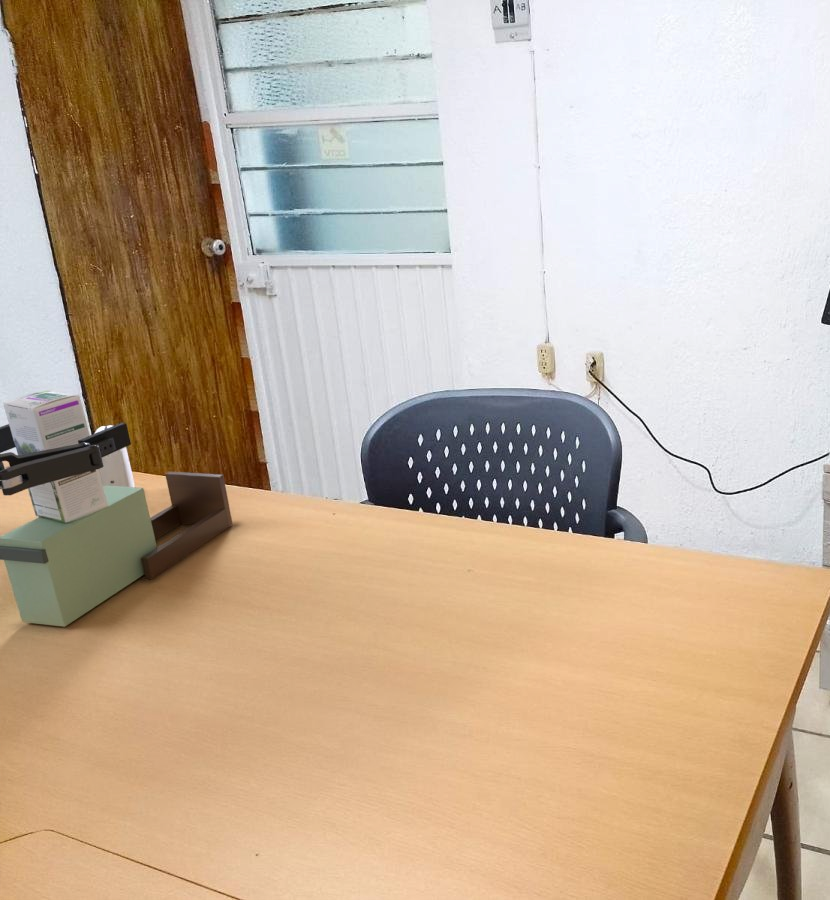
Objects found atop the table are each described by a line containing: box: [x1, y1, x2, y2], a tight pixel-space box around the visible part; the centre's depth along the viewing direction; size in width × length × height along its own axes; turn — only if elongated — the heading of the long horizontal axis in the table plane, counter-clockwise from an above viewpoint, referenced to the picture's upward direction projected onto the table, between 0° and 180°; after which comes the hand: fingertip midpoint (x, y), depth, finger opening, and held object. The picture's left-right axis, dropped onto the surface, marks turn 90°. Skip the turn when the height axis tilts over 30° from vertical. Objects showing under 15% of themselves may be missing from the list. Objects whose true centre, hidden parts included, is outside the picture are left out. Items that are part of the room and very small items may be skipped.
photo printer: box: [93, 424, 136, 487], centre depth 130 cm, size 10×4×12 cm, turn 28°
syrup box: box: [2, 390, 108, 523], centre depth 98 cm, size 6×6×14 cm
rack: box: [141, 471, 234, 580], centre depth 115 cm, size 9×17×8 cm, turn 168°
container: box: [0, 485, 158, 628], centre depth 102 cm, size 6×16×11 cm, turn 168°
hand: (78, 431), depth 100 cm, fingers open, 13 cm apart
